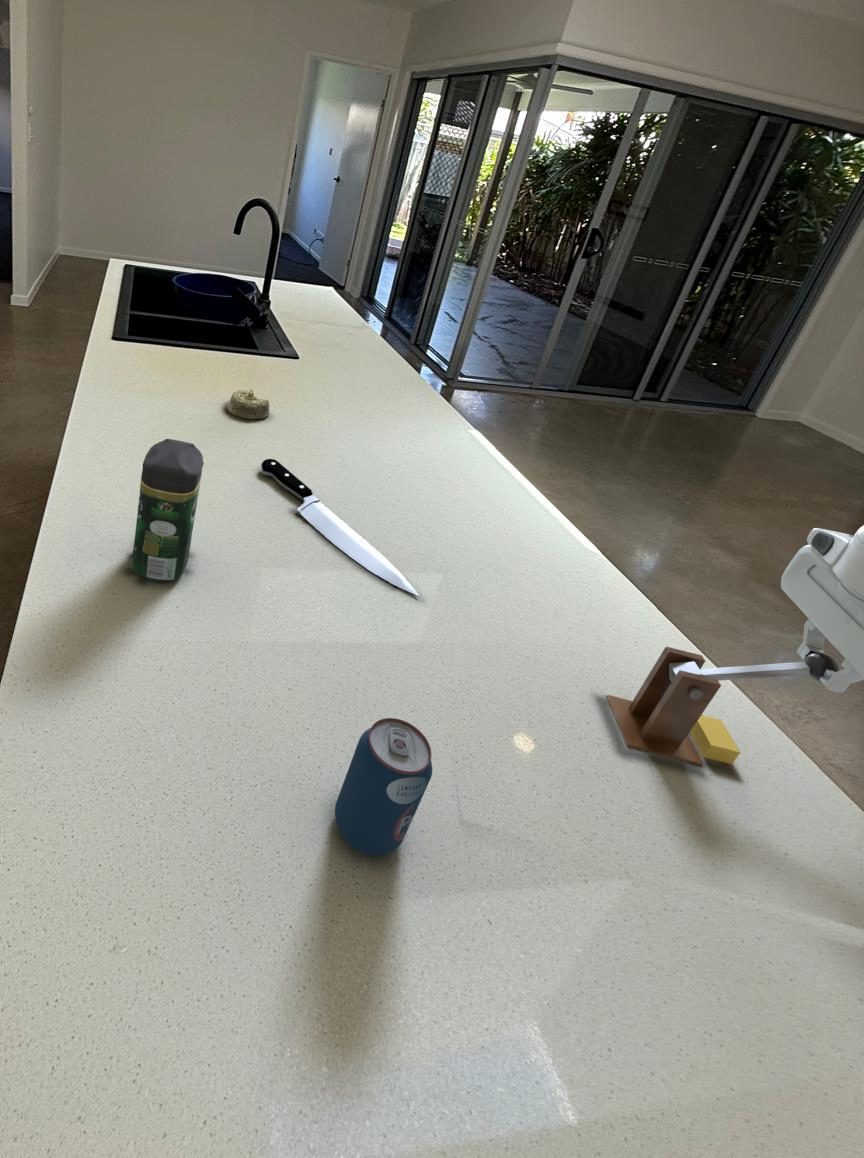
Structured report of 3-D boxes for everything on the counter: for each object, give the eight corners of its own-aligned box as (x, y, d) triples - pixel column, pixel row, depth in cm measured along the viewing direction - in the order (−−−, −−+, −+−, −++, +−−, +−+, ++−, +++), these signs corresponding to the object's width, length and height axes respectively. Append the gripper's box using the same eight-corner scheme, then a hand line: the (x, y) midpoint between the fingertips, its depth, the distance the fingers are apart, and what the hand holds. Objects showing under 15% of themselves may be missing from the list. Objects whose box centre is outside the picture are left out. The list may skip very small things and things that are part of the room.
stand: (671, 718, 86) (715, 651, 81) (698, 770, 79) (748, 700, 74) (603, 700, 86) (642, 633, 81) (623, 751, 79) (668, 680, 74)
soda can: (401, 873, 61) (441, 788, 55) (328, 851, 61) (360, 765, 56) (400, 805, 67) (435, 723, 62) (334, 786, 67) (363, 703, 62)
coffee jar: (139, 539, 99) (153, 429, 91) (191, 549, 99) (209, 440, 91) (123, 578, 90) (137, 461, 82) (180, 589, 90) (199, 473, 82)
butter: (709, 736, 84) (721, 719, 83) (728, 769, 80) (740, 752, 79) (682, 729, 85) (693, 712, 83) (699, 761, 80) (711, 745, 79)
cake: (253, 426, 144) (256, 404, 142) (217, 410, 149) (220, 389, 146) (278, 412, 152) (281, 391, 149) (243, 397, 156) (245, 377, 153)
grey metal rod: (828, 666, 77) (830, 645, 75) (845, 687, 74) (848, 665, 72) (667, 677, 81) (667, 657, 79) (678, 697, 78) (678, 676, 77)
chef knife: (402, 608, 97) (405, 597, 96) (248, 473, 124) (249, 462, 123) (426, 596, 100) (430, 584, 99) (271, 466, 127) (272, 456, 126)
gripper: (1005, 652, 60) (912, 755, 66) (857, 533, 78) (795, 622, 84) (934, 635, 60) (847, 738, 66) (804, 521, 78) (745, 610, 85)
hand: (817, 672), depth 75 cm, fingers closed on grey metal rod, 3 cm apart
